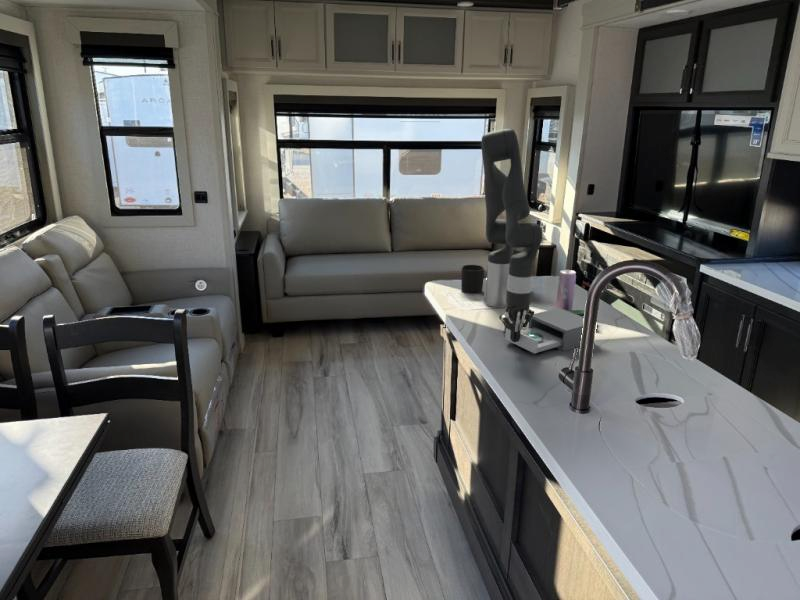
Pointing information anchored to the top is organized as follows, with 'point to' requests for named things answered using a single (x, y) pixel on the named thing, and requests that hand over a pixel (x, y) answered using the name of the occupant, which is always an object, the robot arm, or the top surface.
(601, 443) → the top surface
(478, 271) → the pen holder
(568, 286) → the beverage can
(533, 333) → the disc
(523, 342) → the tray
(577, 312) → the disk drive
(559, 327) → the box
